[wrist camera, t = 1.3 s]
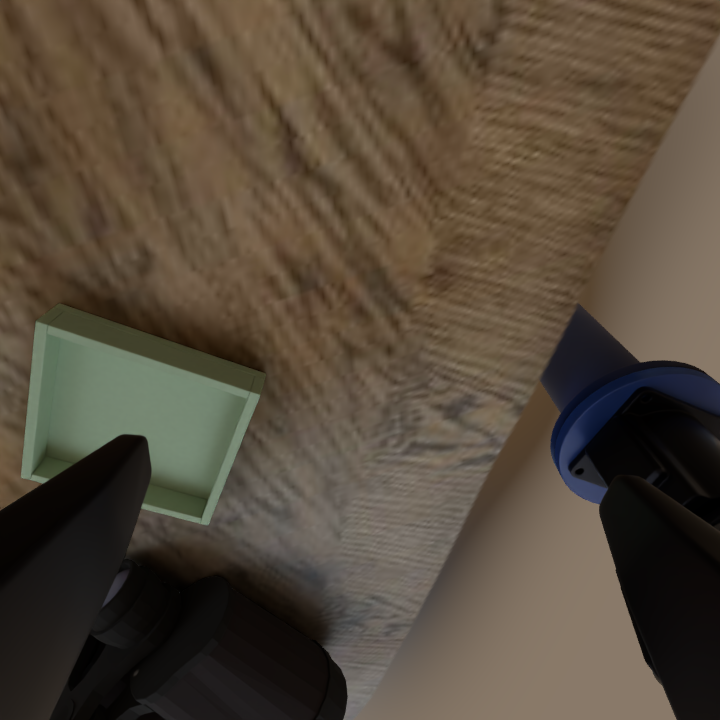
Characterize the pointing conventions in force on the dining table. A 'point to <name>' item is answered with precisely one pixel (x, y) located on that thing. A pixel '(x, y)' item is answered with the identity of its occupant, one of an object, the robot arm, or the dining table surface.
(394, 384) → the dining table surface
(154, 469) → the base pad
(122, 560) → the robot arm
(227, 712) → the binoculars
